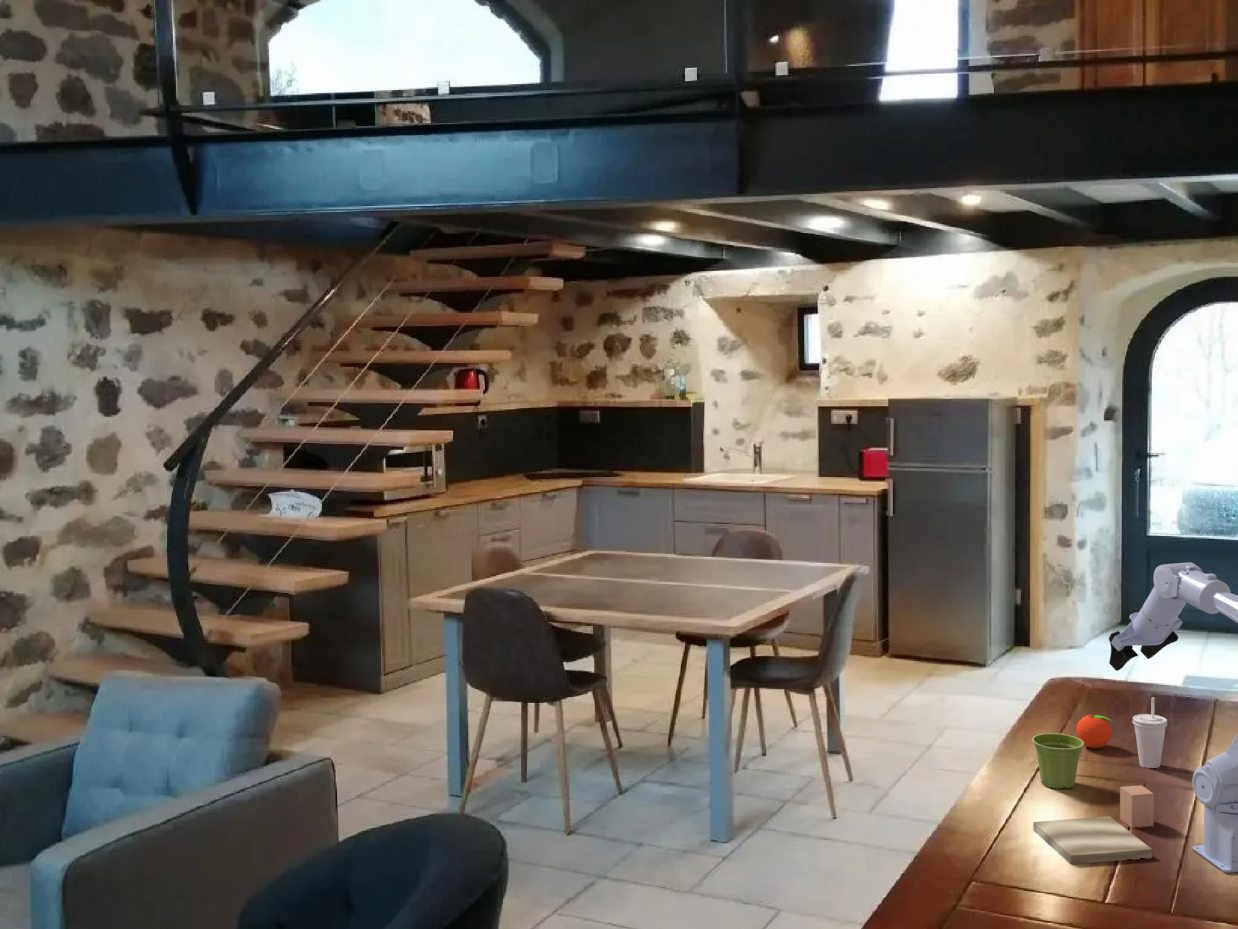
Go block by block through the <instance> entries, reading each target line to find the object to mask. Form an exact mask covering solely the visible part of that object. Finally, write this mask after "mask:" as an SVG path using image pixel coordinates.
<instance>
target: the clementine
mask: <svg viewBox="0 0 1238 929" xmlns="http://www.w3.org/2000/svg"><path fill="white" fill-rule="evenodd" d="M1108 721H1109V722H1112V723H1113V725H1114V726H1115V728H1117V725H1116V724H1115V722H1114V721H1113V720H1112V719H1111V718H1108V717H1107V716H1103V715H1097V714H1088V715H1085V716H1083V717H1082V718H1081V719H1080V720H1078V723H1077V724H1076V729H1075V732H1076V736H1077V738H1079V739H1081V740H1082V741H1083V742H1084V746H1085V747H1087V748H1091V749H1101V748H1103V747H1105V746H1106V745H1108V743H1109V742H1110V741H1111V738H1112V728H1111V725H1110V723H1109V722H1108Z"/></svg>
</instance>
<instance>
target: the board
mask: <svg viewBox="0 0 1238 929" xmlns="http://www.w3.org/2000/svg"><path fill="white" fill-rule="evenodd" d="M1033 831H1034V832H1035V833H1036V834H1037V835H1038V836H1039V837H1040V838H1042V839H1043V841H1044V842H1045V843H1046V844H1048V845H1049V846H1050V847H1051V848H1052V849H1053V850H1054V851H1056V853H1058V854H1059V855H1060V857H1062V858H1063V859H1064V860H1065V861H1066V862H1068V864H1070V865H1078V864H1091V863H1104V862H1116V861H1128V860H1127V859H1132V860H1141V859H1140V858H1145V859H1152V858H1153V849H1152V848H1151V847H1150V846H1149V845H1148V844H1146V843H1145V842H1143V841H1142V840H1141V839H1139V837H1137V836H1135V834H1133V833H1132V832H1130V831H1129V830H1128V829H1127V828H1125V827H1124V826H1122V825H1121V824H1120V823H1119V822H1117V820H1115V819H1114V818H1113V817H1111V816H1096V817H1083V818H1069V819H1055V820H1043V821H1033Z"/></svg>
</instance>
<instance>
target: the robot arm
mask: <svg viewBox="0 0 1238 929" xmlns="http://www.w3.org/2000/svg"><path fill="white" fill-rule="evenodd" d="M1217 577H1218V576H1217V575H1216V574H1214V573H1204V571H1203V570H1202V568H1200V567H1199V566H1198V565H1196V564H1195V563H1194V562H1178V563H1176V562H1175V563H1167V564H1166V563H1165V564H1160V565H1158V566H1157V567H1156V568H1155V569H1154V572H1153V578H1152V579H1153V585H1154V586H1153V587H1152V589H1151V591H1150V593H1149V595H1148V596H1147V598H1146V600H1145V601H1144V603H1143V605H1142V607H1141V608H1140V610H1139V612H1138V611H1137V612H1136V611H1135V612H1133V613H1131V614H1130V615H1129V620H1131V622H1129V623H1128V625H1127V626H1126V627H1125V628H1124V629H1123V630H1122V631H1121V632H1120V631H1119V630H1117V631H1115V632H1112V633H1111V634H1110V635H1109V637H1108V641H1109V644H1110V657H1109V665H1110V667H1112V668H1113V669H1114V670H1115V671H1116V672H1118V671H1120V670H1122V669H1123V668H1124V667H1125V665H1126V664H1127V663H1128V662H1129V661H1130V660H1132V659H1133V658H1135V657H1138V656H1139V654H1138V653H1137V652H1136V650H1134V649H1133V647H1134V646H1140V652H1141V653H1142V654H1143V656H1144V657H1145V658H1146V660H1150V659H1152V658H1153V657H1154V656H1156V655H1157V654H1158V653H1159V652H1160V651H1162V650H1163V649H1164V648H1166V647H1167V646H1168V645H1170V644H1173V643H1175V642H1178V640H1179V636H1178V634H1177V633H1176V632H1175V631H1177V630H1179V629H1180V627H1181V626H1182V624H1183V621H1181V620H1182V619H1180V618H1179V615H1180V614H1181V612H1182V611H1183V609H1184V608H1185V607H1186V604H1189V605H1191V606H1193V607H1194V608H1196V609H1198V610H1201V611H1203V612H1204V613H1206V614H1211V615H1215V614H1219V613H1221V614H1222V615H1224V616H1226V617H1227V618H1229V619H1230V620H1232V621H1234V622H1235V623H1237V624H1238V595H1237V594H1234V593H1231V590H1230V589H1231V588H1230V587H1229V585H1228V584H1227V583H1225V582H1224V581H1222V580H1220V579H1218V578H1217ZM1191 782H1192V783H1191V784H1192V785H1191V786H1192V789H1193V793H1194V795H1195V796H1196V798H1197V799H1198V801H1199V802H1200V804H1202V805H1204V808H1203V812H1204V813H1203V844H1202V845H1201V844H1199V845H1198V844H1197V845H1192V850H1193V851H1194V852H1196V853H1197V854H1198V855H1200V856H1201V857H1203V858H1204V859H1206V860H1207V861H1208V862H1209V863H1211V864H1213V865H1214V866H1215V867H1217V868H1218V869H1219V870H1221V871H1222V872H1224V873H1226V874H1227V873H1238V733H1237V734H1236V735H1235V737H1234V738H1233V740H1232V741H1231V743H1230V744H1229V746H1228V747H1227V749H1226V750H1225V751H1224V752H1222V753H1220V754H1218V755H1216V756H1214V757H1212V758H1210V759H1208V760H1207V761H1206V763H1205V764H1204V765H1203V766H1199V767H1197V768H1195V770H1194V772H1193V775H1192V781H1191Z"/></svg>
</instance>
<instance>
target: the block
mask: <svg viewBox="0 0 1238 929" xmlns="http://www.w3.org/2000/svg"><path fill="white" fill-rule="evenodd" d="M1119 797H1120V798H1119V820H1120V819H1121V820H1120V821H1122V822H1123V823H1124V822H1126V823H1127V824H1128V825H1129V826H1128V825H1127V824H1126V823H1125V824H1126V825H1127V826H1128V827H1130V828H1131V827H1132V828H1131V829H1136V828H1135V827H1139V828H1141V827H1140V826H1149V825H1153V826H1154V802H1155V801H1154V797H1155V796H1154V793H1153V792H1152V791H1150V790H1149V789H1148V788H1146V787H1145V786H1143V785H1129V786H1125V785H1124V786H1120V787H1119Z"/></svg>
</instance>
